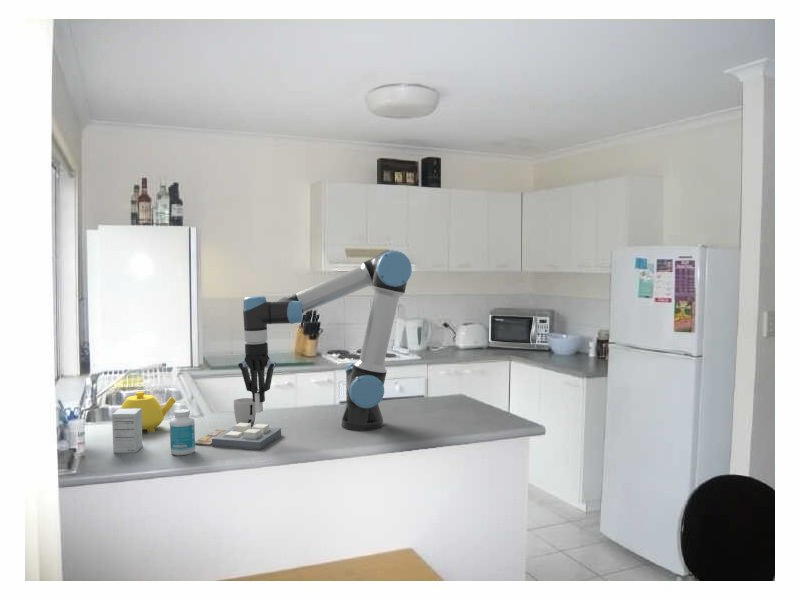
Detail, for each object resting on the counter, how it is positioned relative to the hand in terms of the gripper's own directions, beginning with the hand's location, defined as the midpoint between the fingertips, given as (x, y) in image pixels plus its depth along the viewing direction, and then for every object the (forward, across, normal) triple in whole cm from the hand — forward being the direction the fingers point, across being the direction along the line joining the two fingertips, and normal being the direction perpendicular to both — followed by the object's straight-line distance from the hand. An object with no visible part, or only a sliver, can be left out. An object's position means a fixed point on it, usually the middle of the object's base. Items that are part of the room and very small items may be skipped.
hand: (259, 411), depth 234 cm
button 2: (+8, +7, -1) cm, 10 cm away
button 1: (+9, +7, +6) cm, 13 cm away
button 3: (+8, 0, +6) cm, 10 cm away
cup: (+10, +11, -12) cm, 19 cm away
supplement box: (+9, +37, +20) cm, 43 cm away
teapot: (+9, +44, -3) cm, 45 cm away
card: (+9, +16, +2) cm, 19 cm away
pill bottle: (+9, +18, +19) cm, 28 cm away
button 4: (+8, 0, -1) cm, 8 cm away
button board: (+9, +4, +3) cm, 10 cm away
